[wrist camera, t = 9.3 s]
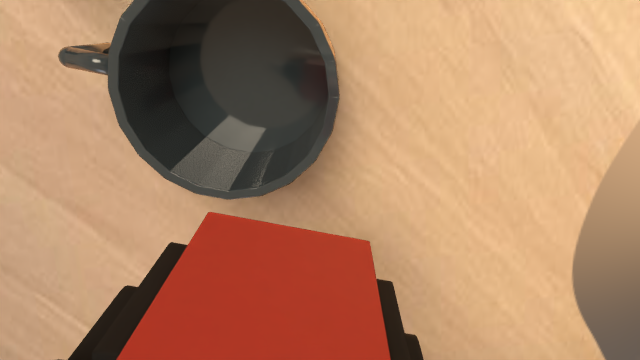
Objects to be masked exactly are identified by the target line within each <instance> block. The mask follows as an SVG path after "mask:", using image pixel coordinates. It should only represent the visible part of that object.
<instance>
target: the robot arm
mask: <svg viewBox="0 0 640 360" xmlns="http://www.w3.org/2000/svg"><path fill="white" fill-rule="evenodd" d="M187 246H188V245H184V244H178V243H173V242H171V243H169V245H168V246H167V247H166V249H165V250H164V252H163V253H162V254H161V256H160V257H159V259H158V260H157V261H156V263H155V264H154V266H153V267H152V268H151V270H150V271H149V273H148V274H147V275H146V277H145V278H144V280H143V281H142V283H141V284H140V285H139V287H134V286H128V285H127V286H125V287H124V288H123V289H122V290H121V291H120V292H119V293H118V295H117V296H116V297H115V299H114V300H113V301H112V303H111V304H110V305H109V307H108V308H107V309H106V310H105V312H104V313H103V314H102V316H101V317H100V318H99V320H98V321H97V322H96V324H95V325H94V326H93V327H92V329H91V330H90V331H89V333H88V334H87V335H86V337H85V338H84V339H83V340H82V342H81V343H80V344H79V346H78V347H77V348H76V350H75V351H74V352H73V354H72V355H71V356H70V357H69V359H68V360H116V359H117V358H118V356H119V355H120V353H121V351H122V350H123V348H124V347H125V345H126V343H127V342H128V340H129V339H130V337H131V335H132V334H133V332H134V331H135V329H136V327H137V326H138V324H139V323H140V321H141V319H142V318H143V316H144V315H145V313H146V311H147V310H148V308H149V307H150V305H151V303H152V302H153V300H154V299H155V297H156V295H157V294H158V292H159V291H160V289H161V287H162V286H163V284H164V283H165V281H166V279H167V278H168V276H169V275H170V273H171V271H172V270H173V268H174V267H175V265H176V263H177V262H178V260H179V259H180V257H181V255H182V254H183V252H184V251H185V249H186V247H187ZM376 280H377V285H378V291H379V297H380V302H381V308H382V313H383V319H384V325H385V330H386V336H387V341H388V347H389V353H390V358H391V360H424V359H423V356H422V352H421V348H420V345H419V341H418V339H417V337H416V336H415V335H411V334H406V333H404V329H403V325H402V321H401V316H400V312H399V308H398V304H397V299H396V295H395V291H394V287H393V283H392V282H391V281H385V280H380V279H376ZM57 360H62V359H57Z"/></svg>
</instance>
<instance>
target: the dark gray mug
mask: <svg viewBox="0 0 640 360" xmlns="http://www.w3.org/2000/svg"><path fill="white" fill-rule="evenodd" d="M58 58H59V61H60V62H61V63H62V64H63V65H64V66H66V67H68V68H73V69H78V70H83V71H88V72H93V73H98V74H104V75H108V91H109V94H110V97H111V101H112V104H113V107H114V111H115V114H116V117H117V121H118V124H119V126H120V127H121V129H122V130H123V132H124V134H125V135H126V137H127V138H128V140H129V141H130V143H131V144H132V146H133V147H134V149H135V151H136V152H137V154H139V156H140V157H141V158H142V159H143V160H145V161H146V162H147V163H148V164H149V165H150V166H151V167H153V168H154V169H155V170H156V171H157V172H158V173H159V174H160V175H162V176H163V177H164V178H165V179H167V180H169V181H171V182H173V183H175V184H177V185H179V186H181V187H183V188H185V189H187V190H189V191H191V192H193V193H196V194H200V195H206V196H211V197H217V198H222V199H239V198H248V197H258V196H263V195H265V194H267V193H270V192H272V191H274V190H276V189H279V188H281V187H283V186H286V185H288V184H290V183H291V182H293V181H294V180H295V179H296V178H297V177H298V176H300V175H301V174H302V173H303V172H304V171H305V170H306V169H307V168H309V167H310V166H311V165H312V164H313V163H314V162H315V161H316V160H317V158H318V156H319V154H320V153H321V151H322V149H323V148H324V146H325V144H326V142H327V141H328V139H329V137H330V135H331V134H332V131H333V127H334V122H335V117H336V112H337V108H338V103H339V87H338V77H337V68H336V59H335V51H334V48H333V46H332V43H331V41H330V39H329V37H328V34H327V32H326V30H325V27H324V25H323V23H322V22H321V20H320V19H319V18H318V17H317V16H316V15H315V14H314V12H313V11H312V10H311V9H310V8H309V7H308V6H307V5H306V3H305V2H304V1H303V0H134V1H133V2H132V3H131V4H130V6H129V7H128V8H127V9H126V11H125V12H124V13H123V14H122V15H121V18H120V20H119V23H118V25H117V28H116V31H115V34H114V37H113V40H112V43H101V44H90V45H80V46H70V47H64V48H62V49H61V50H60V52H59V54H58Z"/></svg>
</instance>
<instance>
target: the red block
mask: <svg viewBox="0 0 640 360" xmlns="http://www.w3.org/2000/svg"><path fill="white" fill-rule="evenodd" d="M116 360H391V358H390V353H389V347H388V341H387V336H386V330H385V325H384V319H383V313H382V308H381V302H380V297H379V291H378V285H377V280H376V274H375V269H374V263H373V257H372V252H371V246H370V242H369V241H366V240H360V239H355V238H350V237H344V236H339V235H333V234H328V233H322V232H317V231H311V230H306V229H300V228H295V227H290V226H284V225H279V224H273V223H268V222H262V221H257V220H251V219H246V218H240V217H235V216H230V215H224V214H219V213H213V212H208V214H207V215H206V217H205V219H204V220H203V222H202V223H201V225H200V227H199V228H198V230H197V231H196V233H195V235H194V236H193V238H192V239H191V241H190V243H189V244H188V246H187V247H186V249H185V251H184V252H183V254H182V255H181V257H180V259H179V260H178V262H177V263H176V265H175V267H174V268H173V270H172V271H171V273H170V275H169V276H168V278H167V279H166V281H165V283H164V284H163V286H162V287H161V289H160V291H159V292H158V294H157V295H156V297H155V299H154V300H153V302H152V303H151V305H150V307H149V308H148V310H147V311H146V313H145V315H144V316H143V318H142V319H141V321H140V323H139V324H138V326H137V327H136V329H135V331H134V332H133V334H132V335H131V337H130V339H129V340H128V342H127V343H126V345H125V347H124V348H123V350H122V351H121V353H120V355H119V356H118V358H117V359H116Z"/></svg>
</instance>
